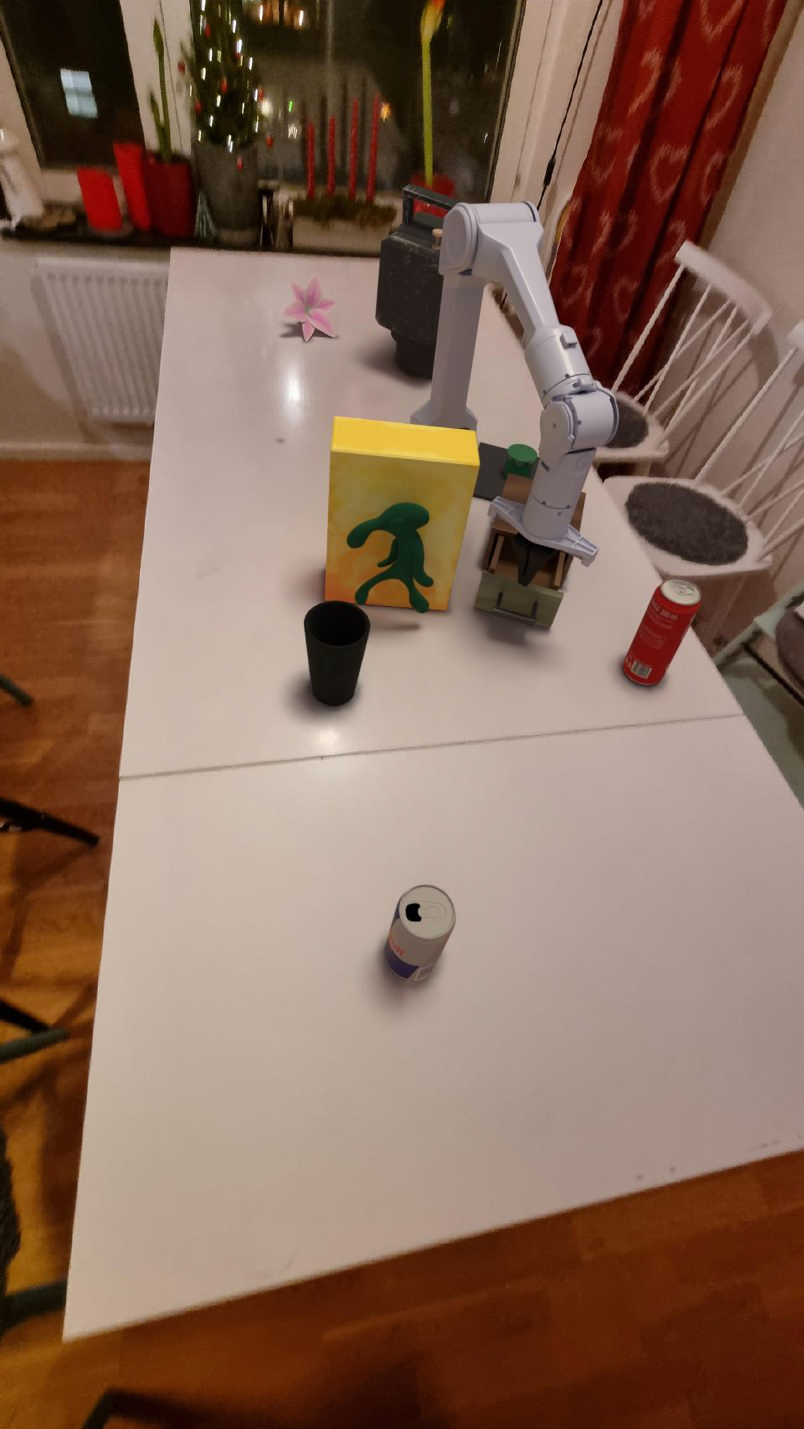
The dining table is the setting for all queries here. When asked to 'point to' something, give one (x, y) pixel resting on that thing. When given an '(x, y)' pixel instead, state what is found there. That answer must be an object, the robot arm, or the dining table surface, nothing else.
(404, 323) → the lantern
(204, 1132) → the dining table surface
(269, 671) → the dining table surface
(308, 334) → the lily
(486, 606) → the drawer
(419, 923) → the energy drink
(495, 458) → the mat
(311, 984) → the dining table surface
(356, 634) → the cup
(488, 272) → the robot arm
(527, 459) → the green cylinder
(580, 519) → the cabinet
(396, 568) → the mottled yellow carton
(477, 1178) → the dining table surface
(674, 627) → the beverage can
